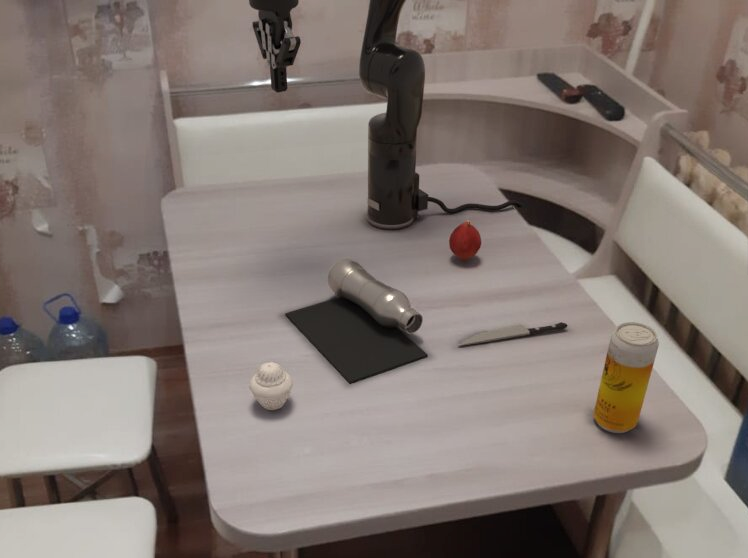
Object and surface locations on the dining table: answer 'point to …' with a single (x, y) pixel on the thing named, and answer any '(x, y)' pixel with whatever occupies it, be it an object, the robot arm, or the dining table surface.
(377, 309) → the plastic bottle
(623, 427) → the beer can
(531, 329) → the chef's knife
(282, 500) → the dining table surface
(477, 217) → the dining table surface
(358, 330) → the rubber mat
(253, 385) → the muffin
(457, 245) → the onion
